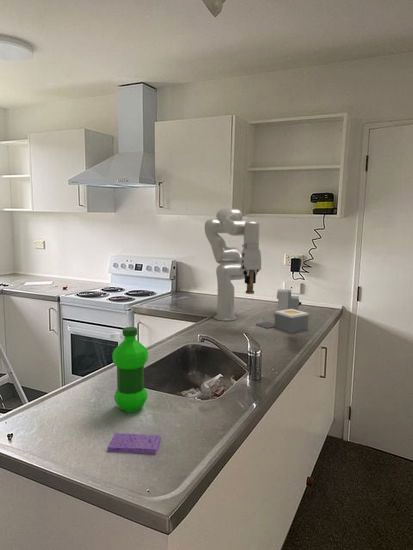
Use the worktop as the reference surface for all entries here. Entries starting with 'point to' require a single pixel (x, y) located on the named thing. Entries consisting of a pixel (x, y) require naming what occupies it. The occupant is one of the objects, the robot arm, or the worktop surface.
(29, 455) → the worktop surface
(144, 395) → the plastic bottle
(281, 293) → the circuit breaker
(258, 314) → the worktop surface
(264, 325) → the rubber mat
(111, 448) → the sponges
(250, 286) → the wooden pepper mill
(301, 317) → the square socket block
